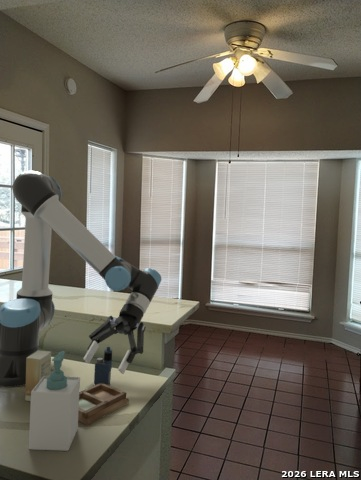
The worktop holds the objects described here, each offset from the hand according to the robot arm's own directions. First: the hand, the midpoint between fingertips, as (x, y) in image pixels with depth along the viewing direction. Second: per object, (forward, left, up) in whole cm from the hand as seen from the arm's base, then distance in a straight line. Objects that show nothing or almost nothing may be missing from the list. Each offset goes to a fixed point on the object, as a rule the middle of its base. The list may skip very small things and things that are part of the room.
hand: (102, 366), depth 114 cm
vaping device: (0, 0, -6) cm, 6 cm away
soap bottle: (+12, -26, -6) cm, 30 cm away
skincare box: (-8, -17, -6) cm, 20 cm away
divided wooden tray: (+7, -10, -6) cm, 14 cm away
